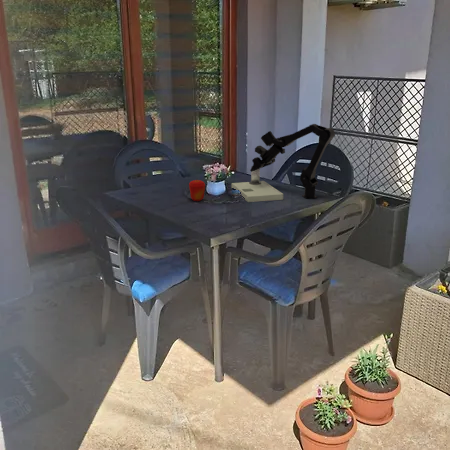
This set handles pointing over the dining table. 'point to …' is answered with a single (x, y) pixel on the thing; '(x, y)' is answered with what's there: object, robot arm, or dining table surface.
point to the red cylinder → (197, 190)
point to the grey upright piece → (255, 176)
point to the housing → (257, 191)
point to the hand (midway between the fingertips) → (254, 169)
